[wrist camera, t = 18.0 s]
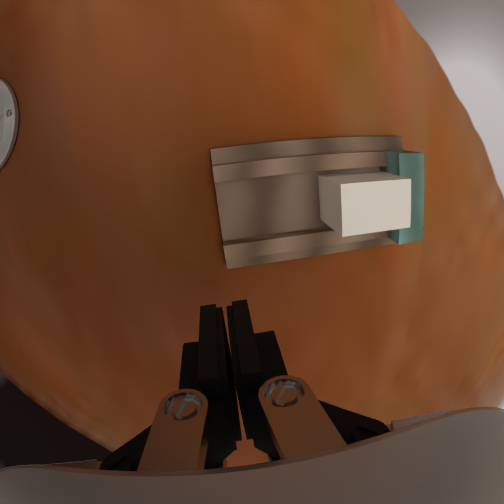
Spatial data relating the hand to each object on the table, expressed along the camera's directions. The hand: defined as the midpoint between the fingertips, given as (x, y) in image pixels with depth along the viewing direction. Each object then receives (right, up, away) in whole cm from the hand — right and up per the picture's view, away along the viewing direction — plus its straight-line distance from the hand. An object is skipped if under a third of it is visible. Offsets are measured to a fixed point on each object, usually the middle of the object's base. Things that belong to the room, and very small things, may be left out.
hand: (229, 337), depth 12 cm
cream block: (+11, +9, +20) cm, 25 cm away
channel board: (+7, +9, +21) cm, 24 cm away
